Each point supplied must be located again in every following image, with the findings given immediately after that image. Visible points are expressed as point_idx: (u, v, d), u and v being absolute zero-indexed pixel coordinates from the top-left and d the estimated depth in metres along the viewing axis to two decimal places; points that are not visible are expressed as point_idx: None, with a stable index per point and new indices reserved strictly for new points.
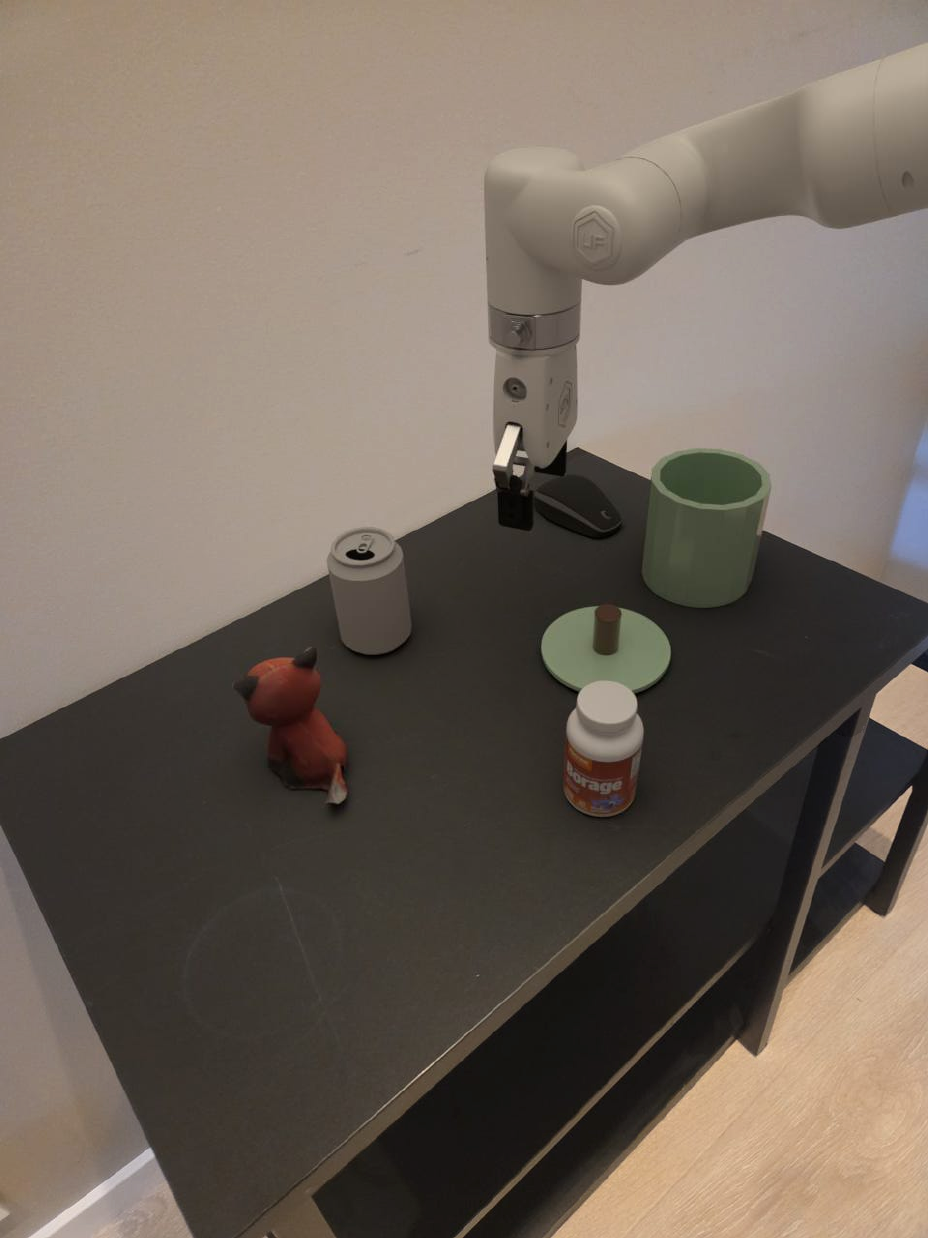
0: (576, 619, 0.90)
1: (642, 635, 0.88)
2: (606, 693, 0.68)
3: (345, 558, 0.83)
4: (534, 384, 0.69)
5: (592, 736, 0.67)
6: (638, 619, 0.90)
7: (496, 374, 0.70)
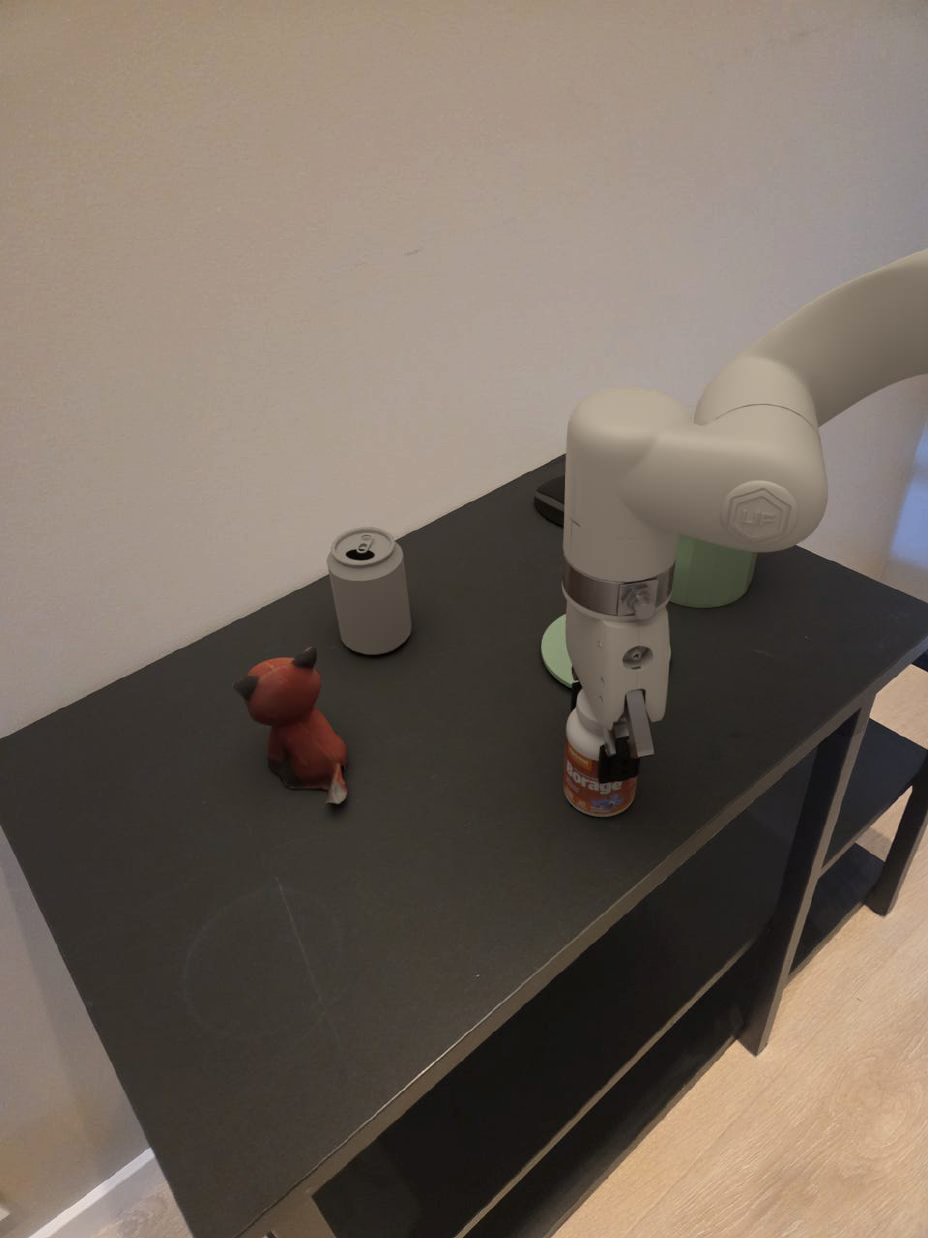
0: None
1: None
2: None
3: (345, 558, 0.83)
4: (661, 645, 0.58)
5: (592, 736, 0.67)
6: None
7: (611, 648, 0.58)
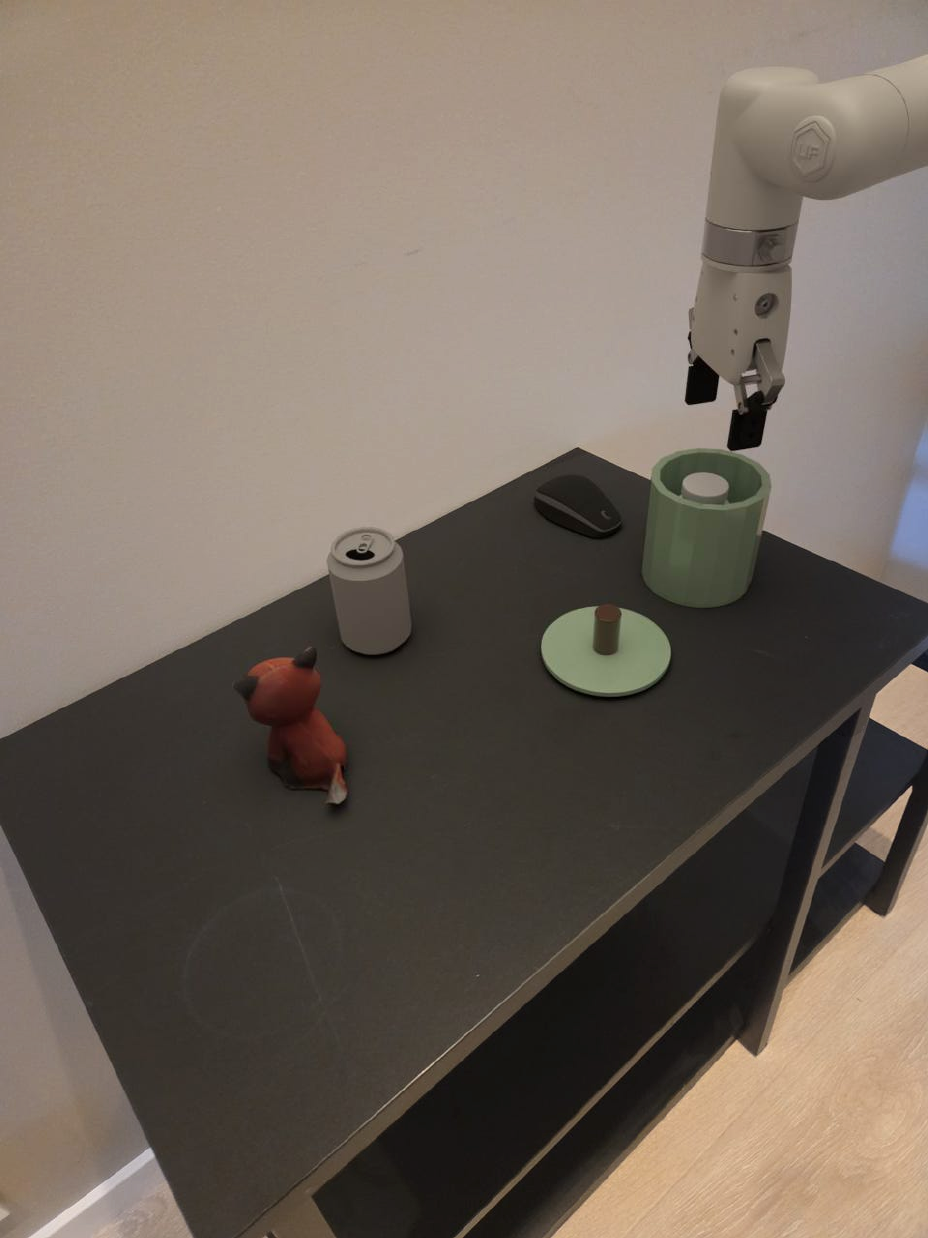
0: (576, 619, 0.90)
1: (642, 635, 0.88)
2: (704, 479, 0.90)
3: (345, 558, 0.83)
4: (785, 295, 0.72)
5: None
6: (638, 619, 0.90)
7: (746, 295, 0.72)
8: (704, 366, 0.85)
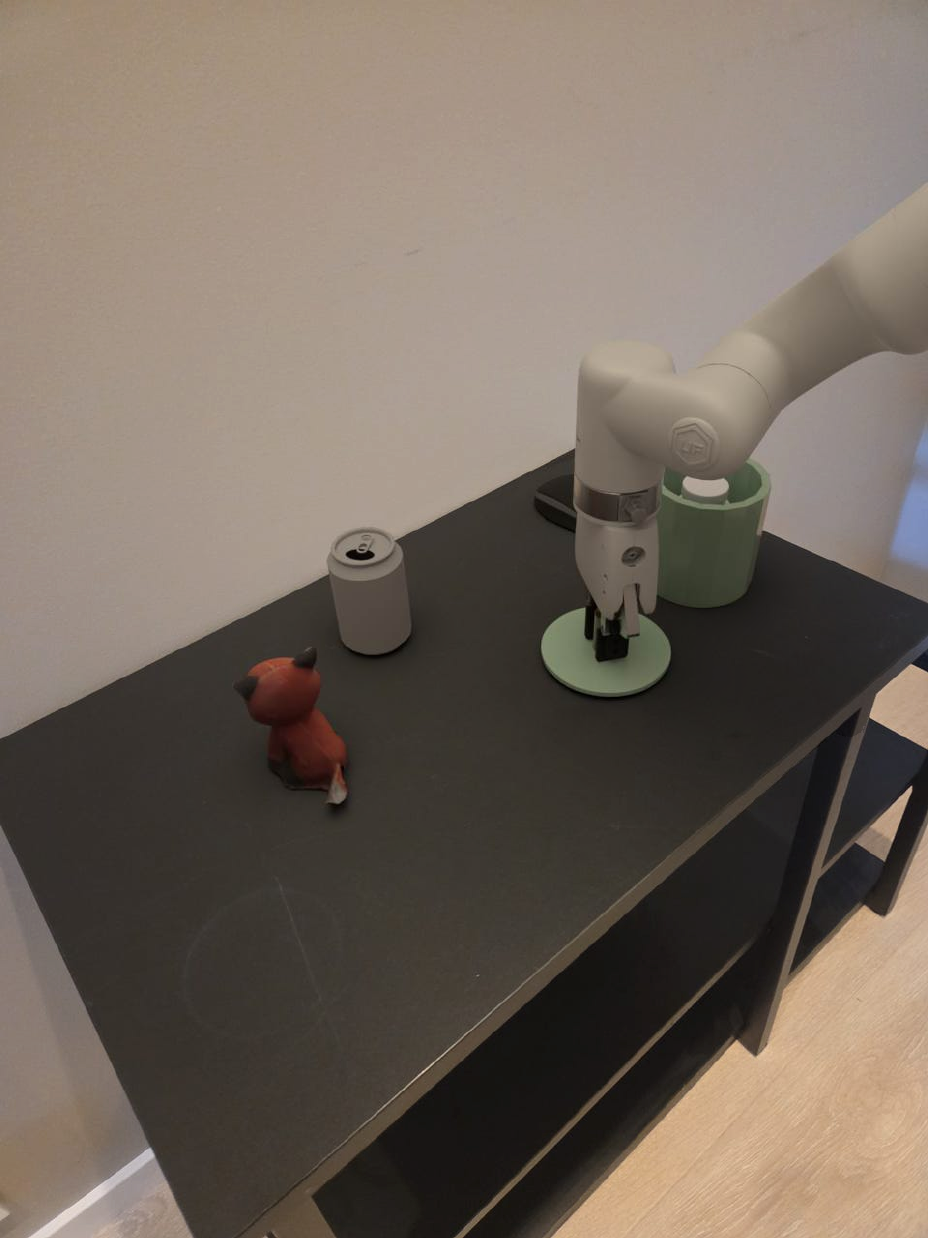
0: (576, 619, 0.90)
1: (642, 635, 0.88)
2: None
3: (345, 558, 0.83)
4: (652, 547, 0.73)
5: None
6: None
7: (613, 548, 0.73)
8: None
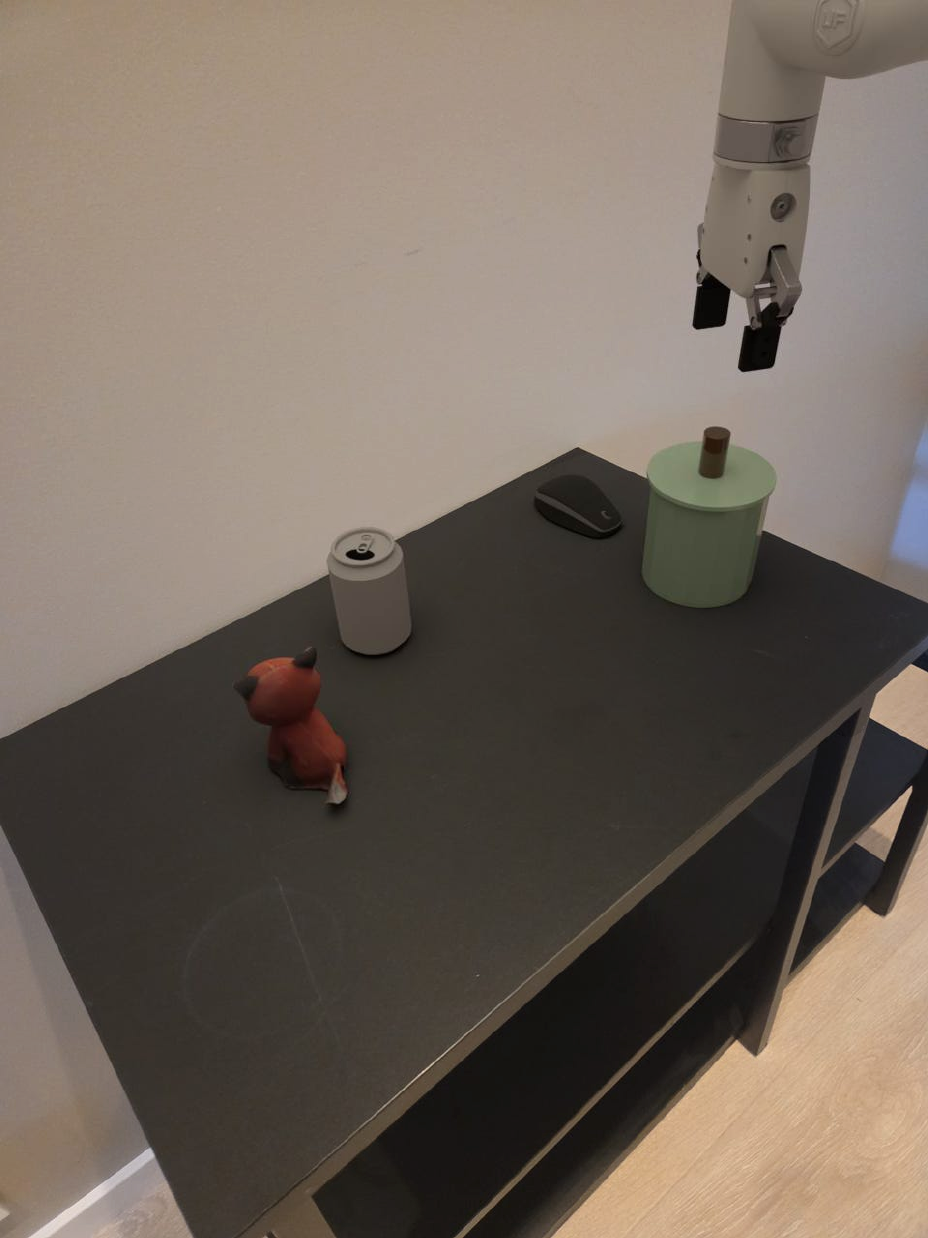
0: (678, 451, 0.92)
1: (746, 462, 0.89)
2: None
3: (345, 558, 0.83)
4: (803, 195, 0.67)
5: None
6: (740, 450, 0.91)
7: (761, 195, 0.67)
8: (713, 286, 0.80)
